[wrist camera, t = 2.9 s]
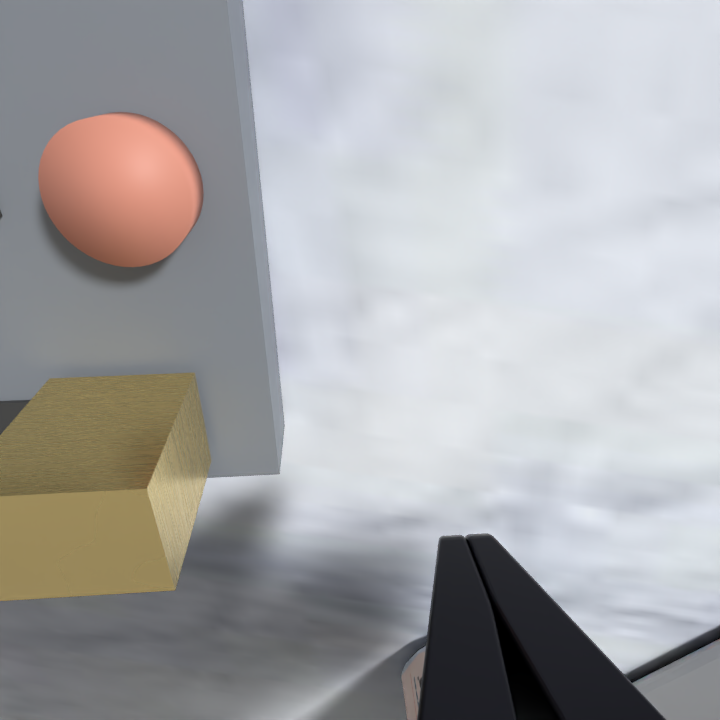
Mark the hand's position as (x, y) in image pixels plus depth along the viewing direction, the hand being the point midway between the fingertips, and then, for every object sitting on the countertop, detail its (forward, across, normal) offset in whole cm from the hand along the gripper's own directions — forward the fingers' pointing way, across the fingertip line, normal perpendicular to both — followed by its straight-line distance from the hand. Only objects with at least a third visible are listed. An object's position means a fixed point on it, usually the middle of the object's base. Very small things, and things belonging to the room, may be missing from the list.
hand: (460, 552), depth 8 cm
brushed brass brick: (+4, +6, 0) cm, 8 cm away
